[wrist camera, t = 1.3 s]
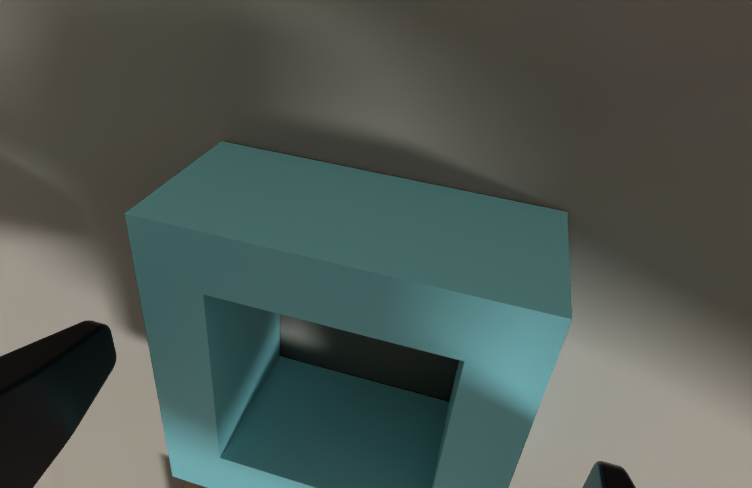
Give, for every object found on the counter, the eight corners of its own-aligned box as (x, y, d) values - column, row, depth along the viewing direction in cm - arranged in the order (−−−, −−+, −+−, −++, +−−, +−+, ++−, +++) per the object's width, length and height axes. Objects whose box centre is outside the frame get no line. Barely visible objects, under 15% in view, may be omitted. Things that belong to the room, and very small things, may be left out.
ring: (566, 211, 10) (572, 319, 7) (489, 448, 13) (475, 573, 11) (221, 141, 11) (124, 213, 8) (236, 377, 14) (172, 476, 12)
